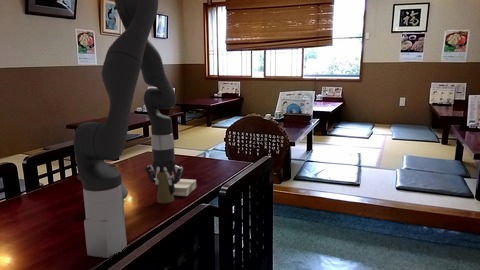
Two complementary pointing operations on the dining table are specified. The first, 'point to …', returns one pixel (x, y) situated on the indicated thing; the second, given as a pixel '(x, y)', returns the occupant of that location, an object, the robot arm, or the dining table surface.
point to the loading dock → (184, 187)
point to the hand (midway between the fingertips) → (165, 194)
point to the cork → (163, 188)
